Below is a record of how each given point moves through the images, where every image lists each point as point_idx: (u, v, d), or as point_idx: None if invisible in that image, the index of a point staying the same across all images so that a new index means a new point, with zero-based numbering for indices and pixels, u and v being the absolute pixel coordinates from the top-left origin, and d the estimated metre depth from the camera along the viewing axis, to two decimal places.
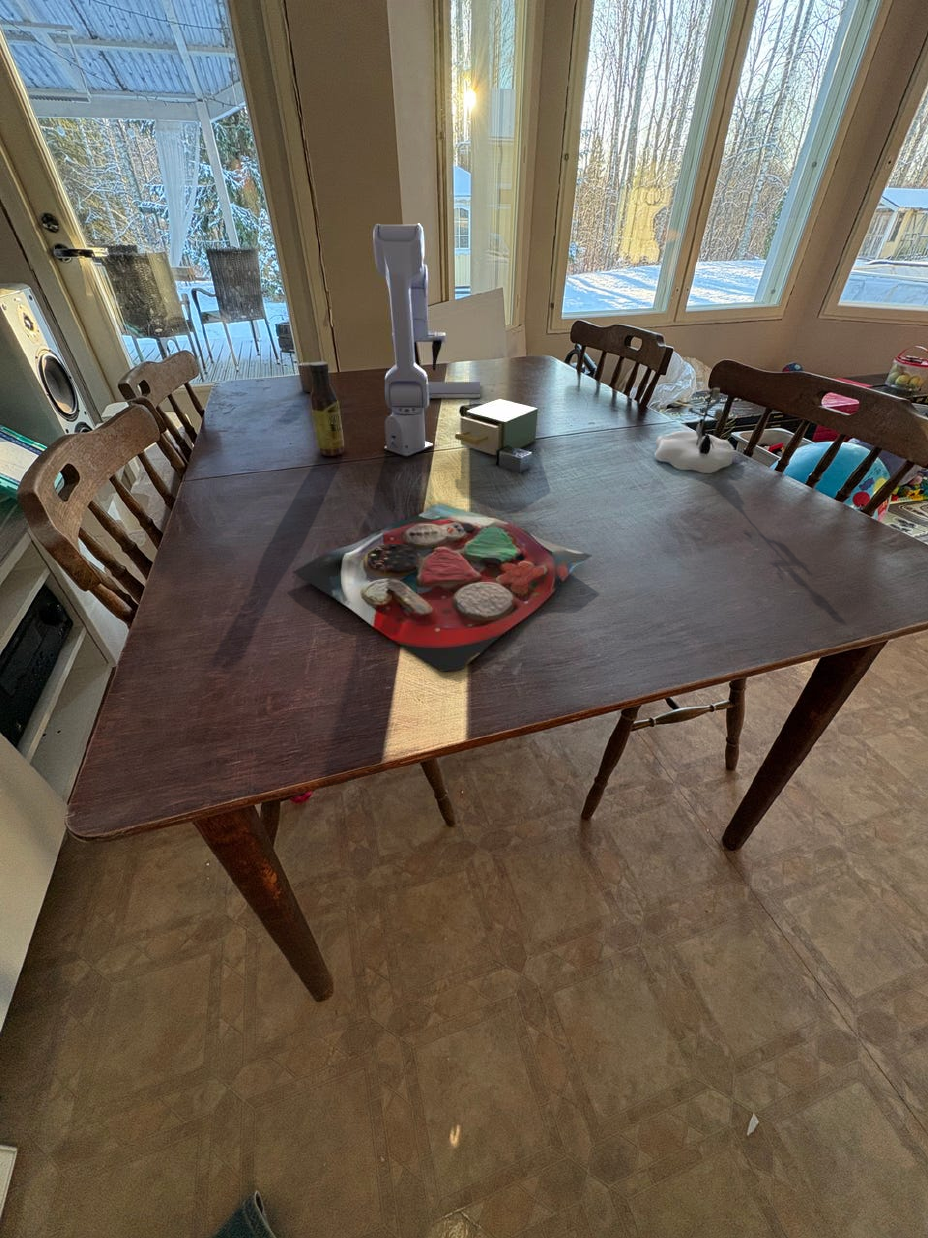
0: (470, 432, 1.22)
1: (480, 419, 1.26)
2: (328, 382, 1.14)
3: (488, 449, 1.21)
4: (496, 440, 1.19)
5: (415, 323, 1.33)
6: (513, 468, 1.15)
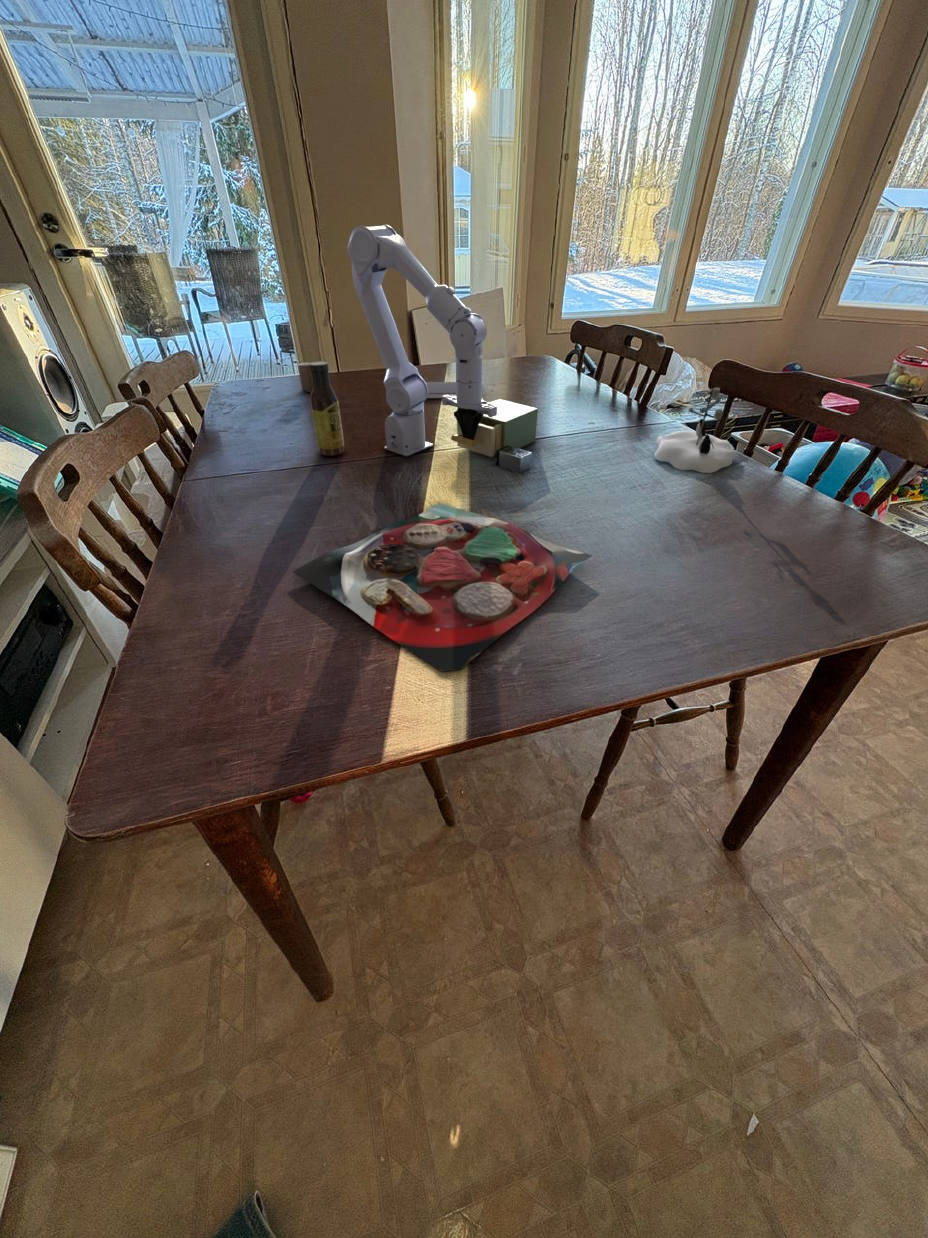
0: None
1: None
2: (328, 382, 1.14)
3: (484, 451, 1.20)
4: (492, 442, 1.18)
5: (459, 386, 1.10)
6: (513, 468, 1.15)
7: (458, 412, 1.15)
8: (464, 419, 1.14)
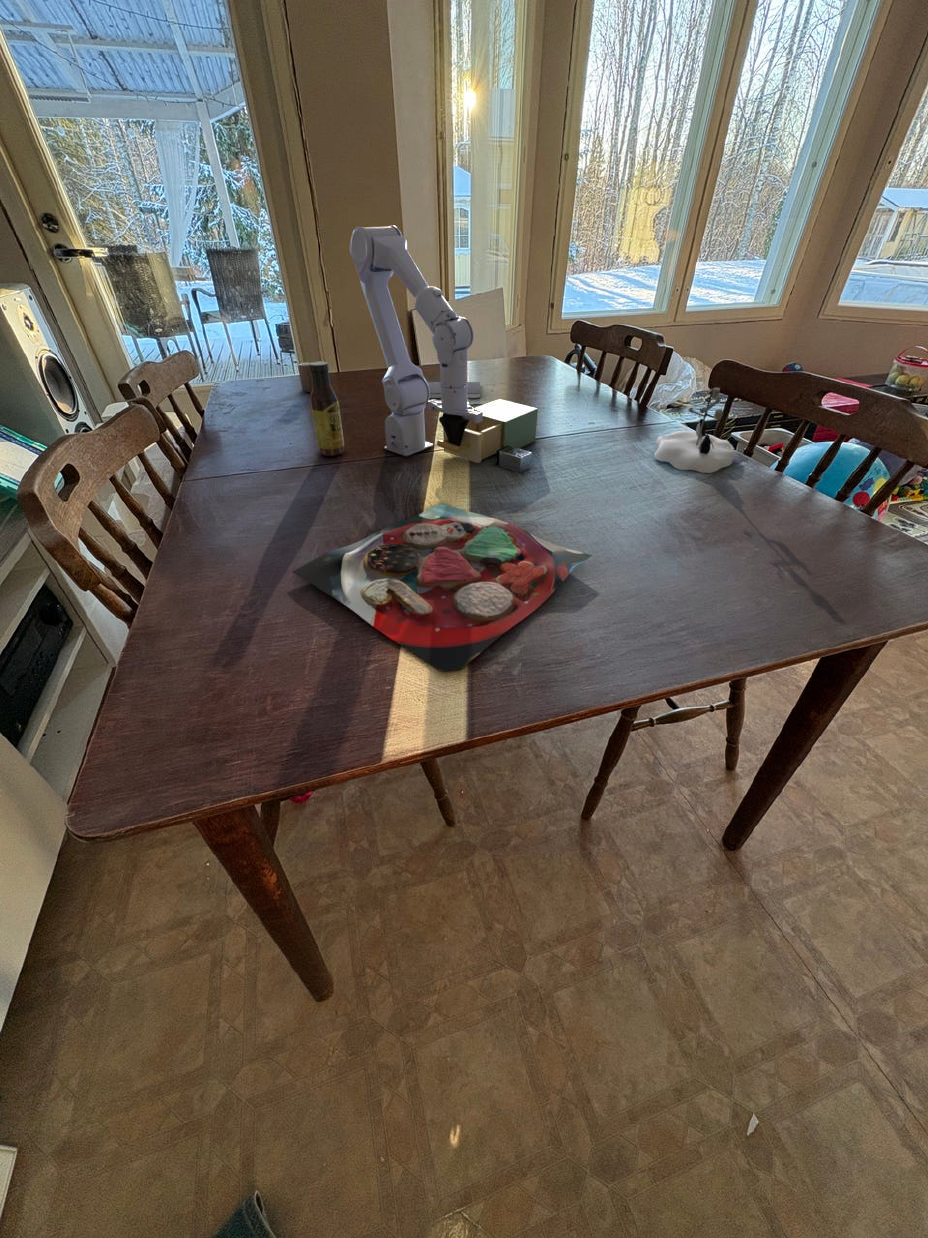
0: None
1: None
2: (328, 382, 1.14)
3: (471, 457, 1.18)
4: (479, 448, 1.15)
5: (444, 391, 1.07)
6: (513, 468, 1.15)
7: (443, 417, 1.12)
8: (449, 425, 1.11)
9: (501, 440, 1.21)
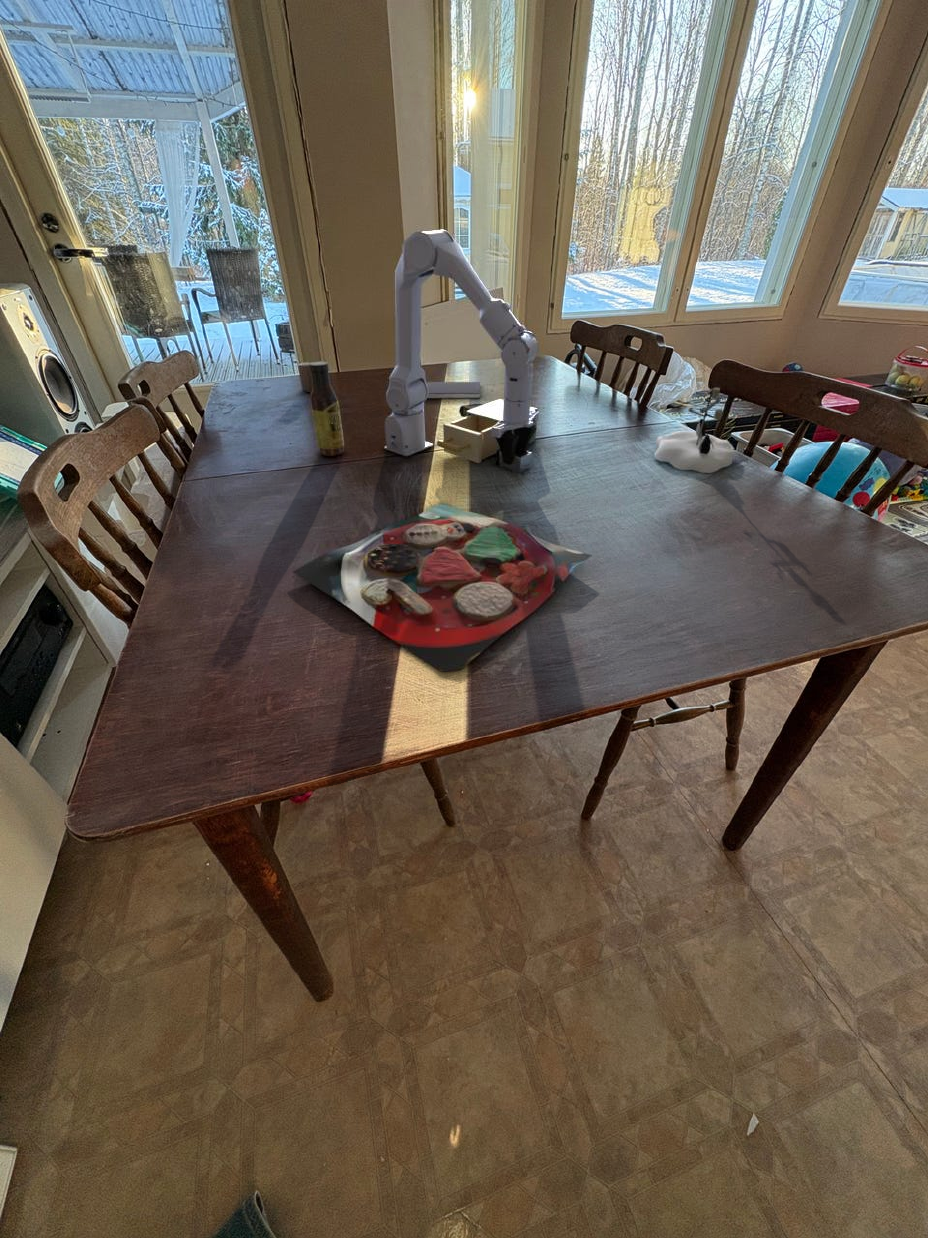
0: (453, 439, 1.19)
1: (464, 425, 1.22)
2: (328, 382, 1.14)
3: (471, 457, 1.18)
4: (479, 447, 1.15)
5: None
6: (513, 468, 1.15)
7: None
8: None
9: None
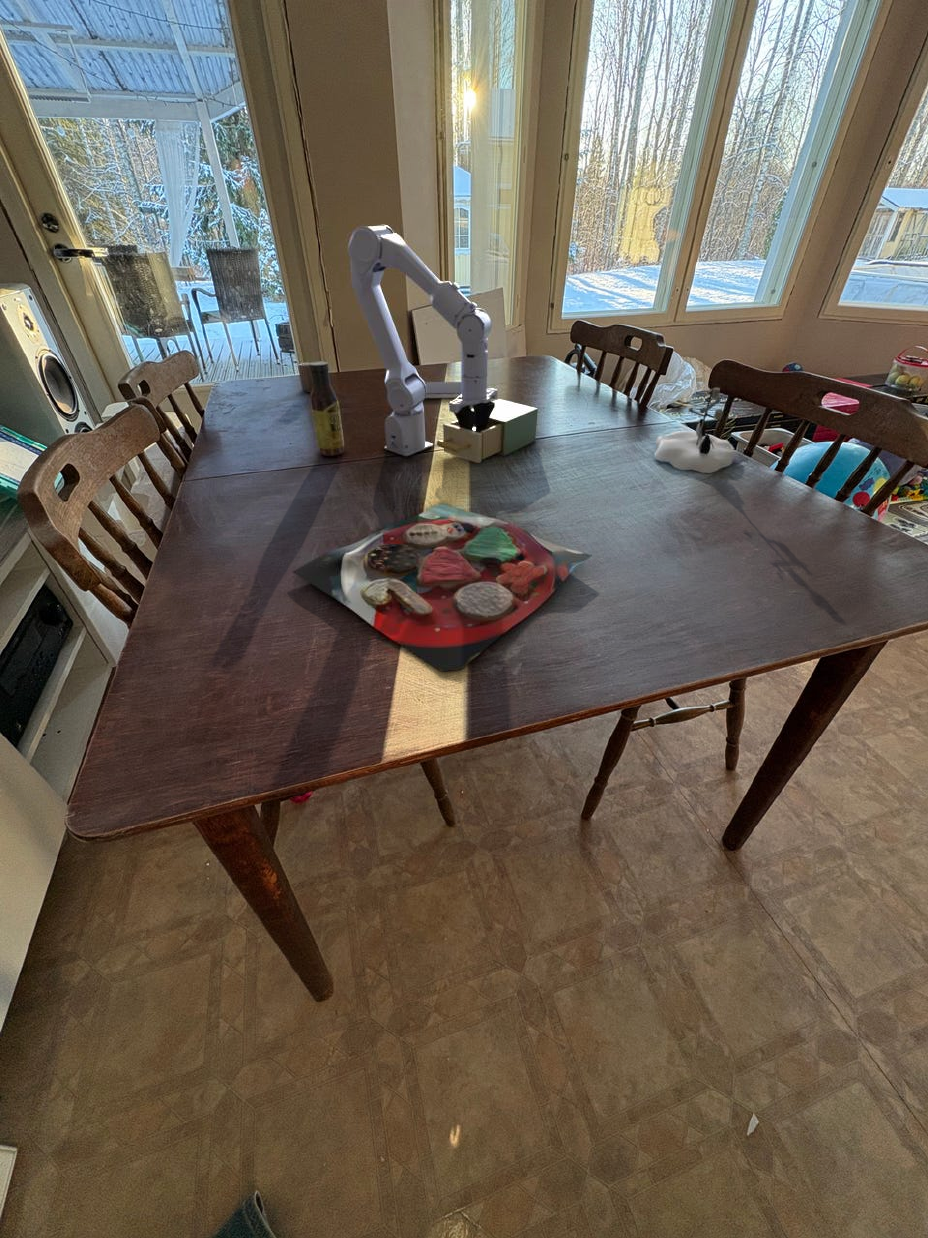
0: (453, 439, 1.19)
1: None
2: (328, 382, 1.14)
3: (471, 457, 1.18)
4: (479, 448, 1.15)
5: None
6: None
7: None
8: None
9: (501, 440, 1.21)
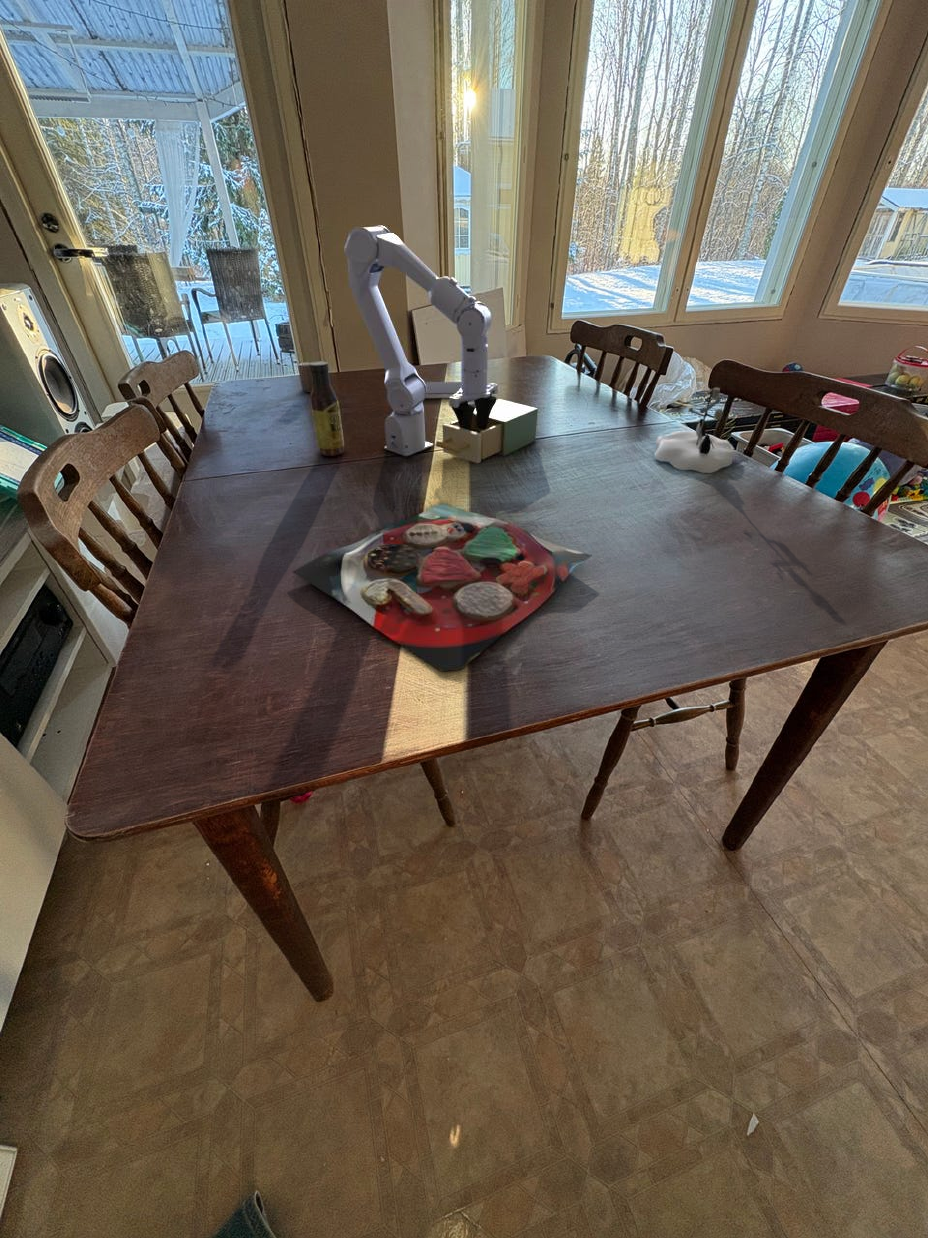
0: (452, 439, 1.18)
1: None
2: (328, 382, 1.14)
3: (470, 457, 1.17)
4: (478, 448, 1.15)
5: None
6: None
7: None
8: None
9: (500, 440, 1.21)
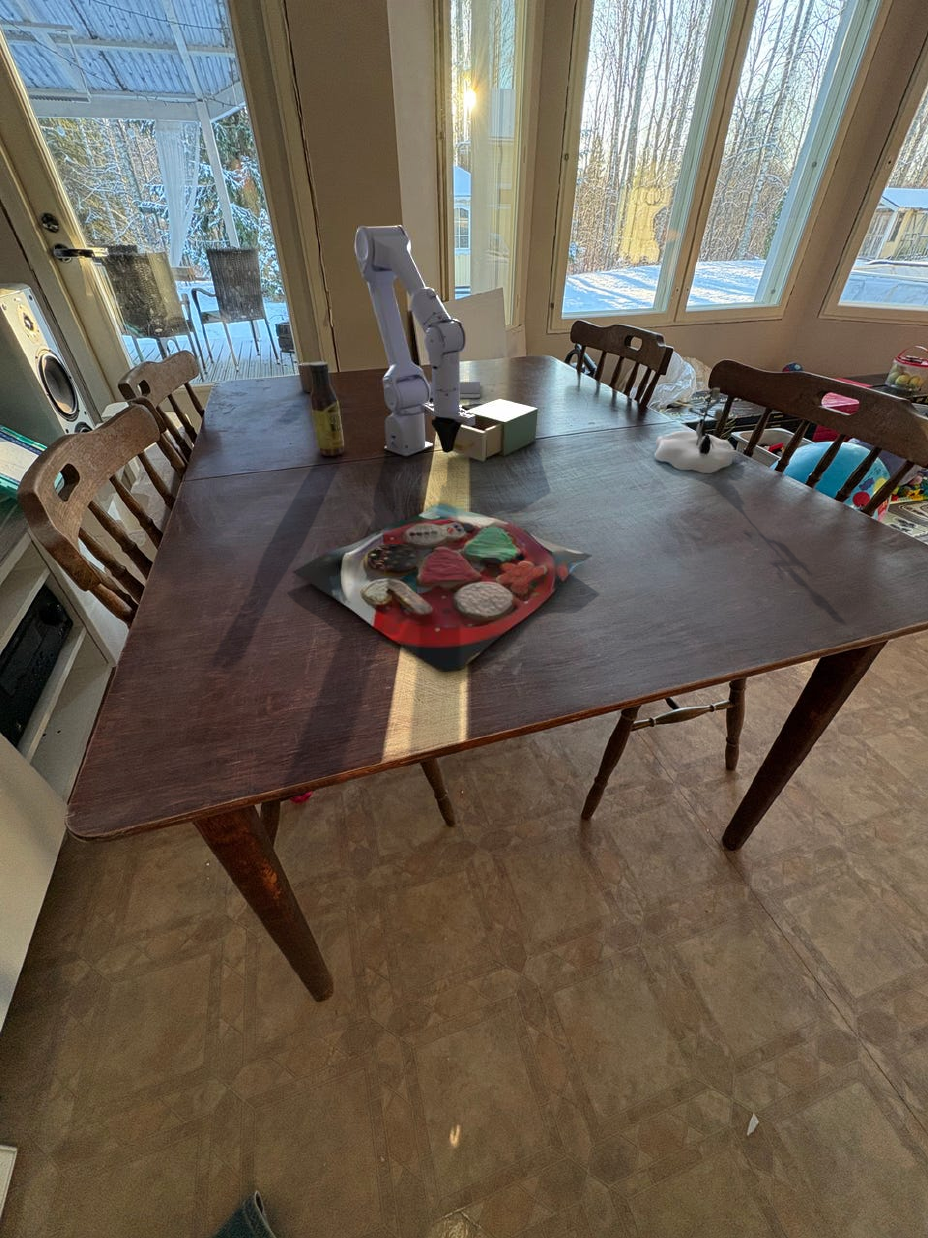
0: (457, 437, 1.19)
1: None
2: (328, 382, 1.14)
3: (475, 455, 1.18)
4: (483, 446, 1.16)
5: (436, 394, 1.06)
6: None
7: (436, 420, 1.11)
8: (442, 428, 1.10)
9: None
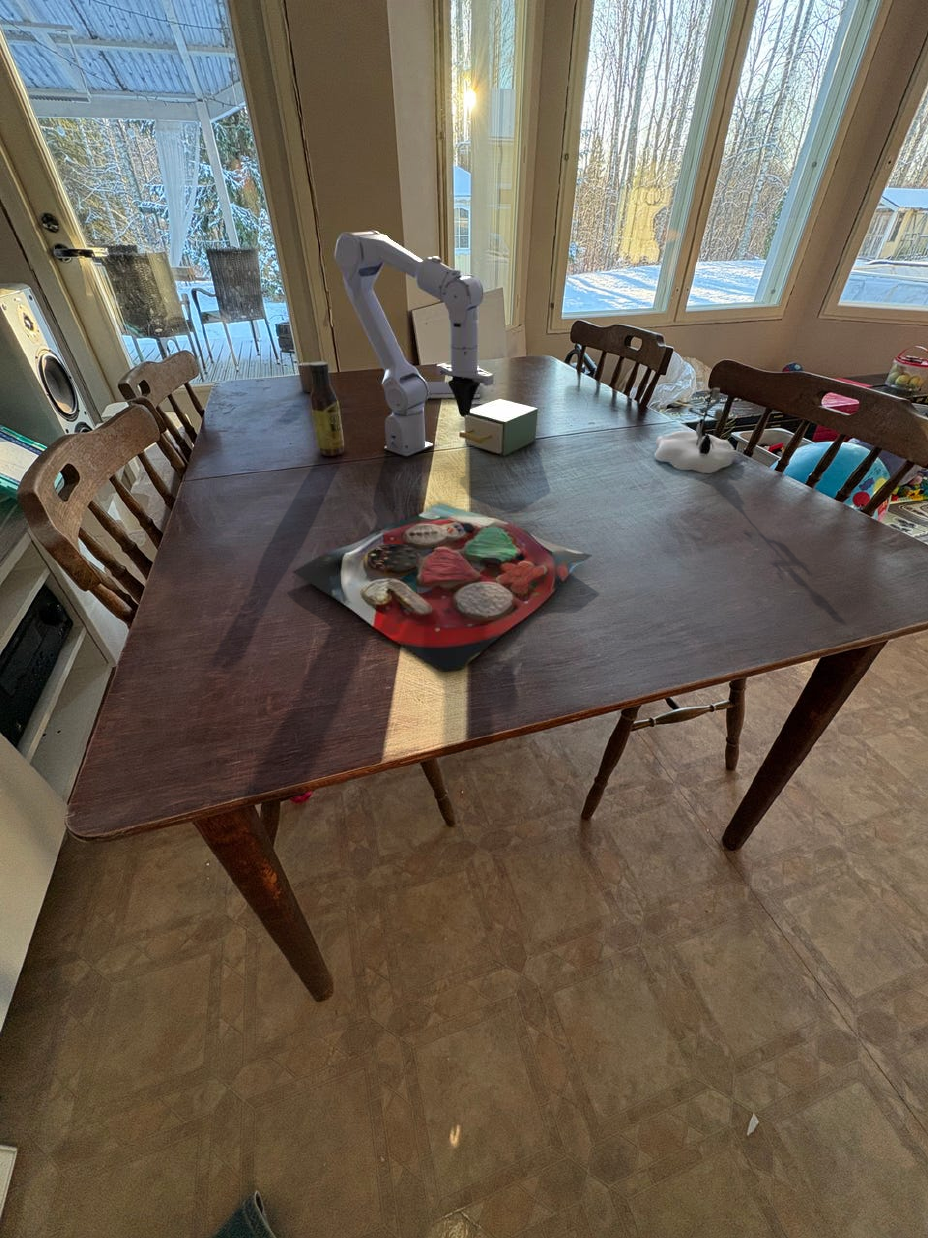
0: (474, 430, 1.23)
1: None
2: (328, 382, 1.14)
3: (492, 447, 1.22)
4: (500, 438, 1.20)
5: (454, 353, 1.05)
6: None
7: (453, 381, 1.10)
8: (459, 388, 1.09)
9: None
